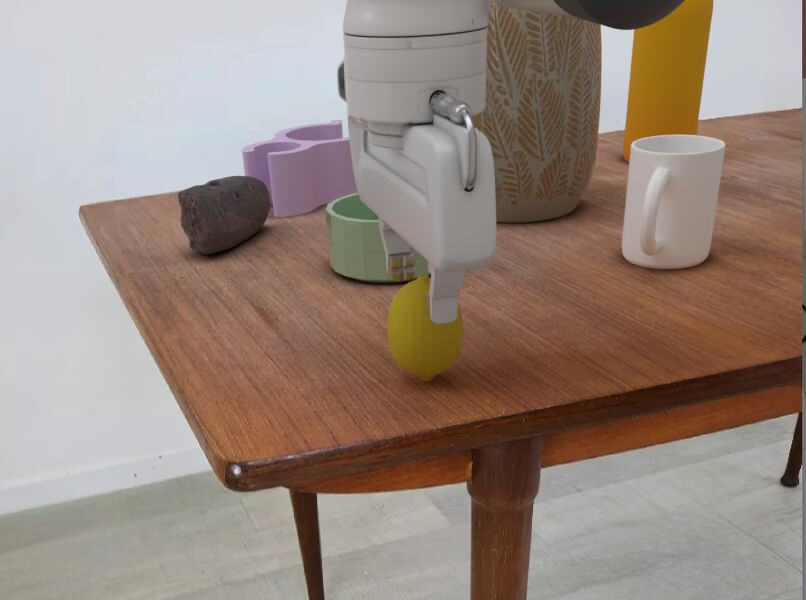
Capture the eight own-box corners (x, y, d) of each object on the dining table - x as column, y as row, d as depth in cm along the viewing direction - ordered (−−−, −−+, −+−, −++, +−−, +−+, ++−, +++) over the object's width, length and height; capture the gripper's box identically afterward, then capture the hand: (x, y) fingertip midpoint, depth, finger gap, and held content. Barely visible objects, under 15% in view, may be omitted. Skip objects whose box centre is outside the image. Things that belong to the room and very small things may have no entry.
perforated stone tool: (253, 222, 110) (245, 159, 106) (291, 226, 107) (284, 162, 103) (170, 260, 99) (158, 191, 95) (210, 266, 97) (200, 195, 93)
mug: (683, 287, 84) (700, 165, 78) (595, 276, 88) (604, 159, 82) (718, 249, 93) (735, 137, 87) (636, 241, 96) (647, 132, 90)
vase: (449, 233, 102) (447, -66, 87) (436, 194, 116) (432, -69, 101) (608, 223, 102) (634, -77, 87) (575, 185, 116) (593, -79, 101)
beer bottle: (607, 160, 126) (628, -105, 110) (652, 148, 131) (679, -108, 114) (662, 170, 120) (694, -109, 104) (708, 158, 124) (745, -112, 108)
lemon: (404, 363, 74) (400, 260, 69) (472, 370, 72) (472, 265, 67) (378, 392, 69) (372, 285, 65) (450, 400, 68) (448, 291, 63)
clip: (304, 221, 109) (298, 157, 105) (225, 209, 115) (217, 149, 111) (401, 182, 122) (399, 124, 118) (326, 173, 128) (322, 118, 124)
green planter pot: (429, 242, 100) (428, 183, 96) (469, 276, 90) (470, 211, 86) (319, 257, 97) (313, 197, 94) (348, 294, 88) (343, 228, 84)
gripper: (528, 102, 52) (518, 342, 59) (415, 59, 68) (418, 253, 76) (418, 112, 50) (423, 357, 58) (330, 67, 67) (342, 263, 74)
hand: (419, 297), depth 67 cm, fingers open, 8 cm apart
